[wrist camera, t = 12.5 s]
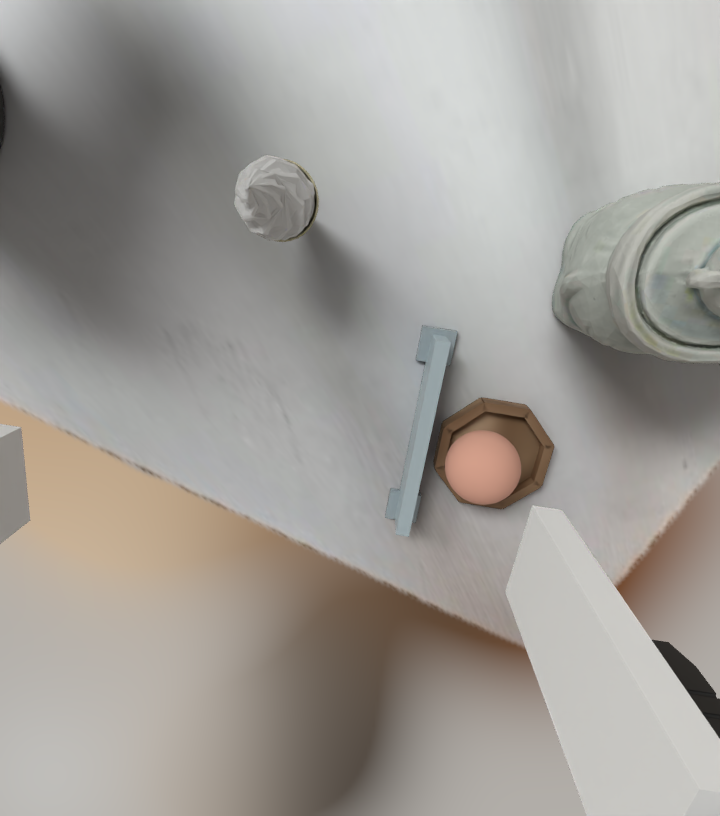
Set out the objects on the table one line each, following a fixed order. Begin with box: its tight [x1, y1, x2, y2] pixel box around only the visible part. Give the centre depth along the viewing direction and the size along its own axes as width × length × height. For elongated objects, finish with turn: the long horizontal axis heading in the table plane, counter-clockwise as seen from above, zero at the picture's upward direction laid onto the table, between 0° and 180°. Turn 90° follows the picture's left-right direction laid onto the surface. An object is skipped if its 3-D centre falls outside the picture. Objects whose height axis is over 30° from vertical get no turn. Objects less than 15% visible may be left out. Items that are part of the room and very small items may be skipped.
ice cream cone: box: [234, 155, 318, 242], centre depth 31 cm, size 5×5×15 cm
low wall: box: [385, 325, 457, 537], centre depth 42 cm, size 3×19×4 cm, turn 171°
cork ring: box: [433, 397, 554, 509], centre depth 43 cm, size 10×10×2 cm
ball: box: [445, 430, 521, 505], centre depth 41 cm, size 6×6×6 cm
